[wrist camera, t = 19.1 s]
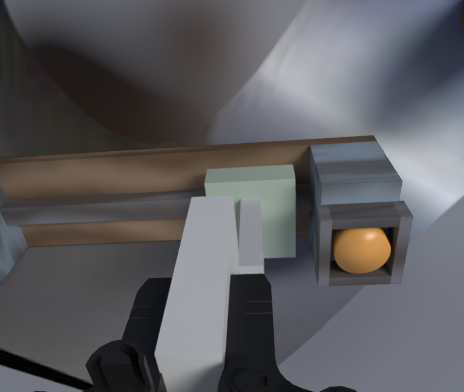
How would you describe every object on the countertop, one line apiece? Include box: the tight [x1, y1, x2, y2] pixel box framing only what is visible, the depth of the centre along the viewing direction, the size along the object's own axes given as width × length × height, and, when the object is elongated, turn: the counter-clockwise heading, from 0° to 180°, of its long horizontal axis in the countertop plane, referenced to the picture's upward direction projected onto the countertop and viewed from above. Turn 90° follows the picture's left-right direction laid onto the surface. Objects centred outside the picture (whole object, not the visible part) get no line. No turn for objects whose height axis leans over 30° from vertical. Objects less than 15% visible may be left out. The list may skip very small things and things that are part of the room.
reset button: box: [331, 227, 391, 274], centre depth 38 cm, size 5×5×2 cm
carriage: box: [204, 164, 296, 274], centre depth 40 cm, size 10×9×15 cm
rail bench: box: [0, 136, 413, 286], centre depth 44 cm, size 12×50×12 cm, turn 95°
